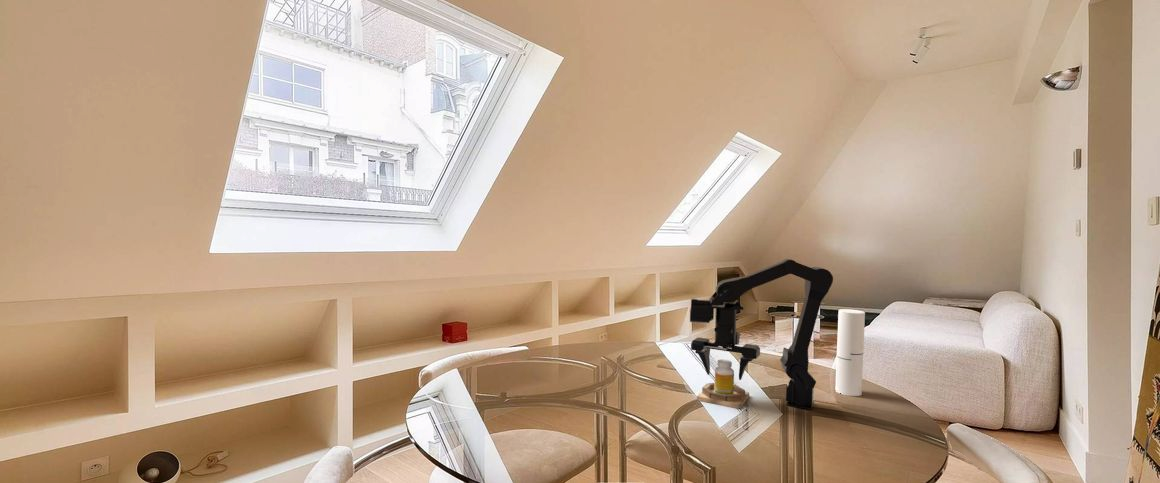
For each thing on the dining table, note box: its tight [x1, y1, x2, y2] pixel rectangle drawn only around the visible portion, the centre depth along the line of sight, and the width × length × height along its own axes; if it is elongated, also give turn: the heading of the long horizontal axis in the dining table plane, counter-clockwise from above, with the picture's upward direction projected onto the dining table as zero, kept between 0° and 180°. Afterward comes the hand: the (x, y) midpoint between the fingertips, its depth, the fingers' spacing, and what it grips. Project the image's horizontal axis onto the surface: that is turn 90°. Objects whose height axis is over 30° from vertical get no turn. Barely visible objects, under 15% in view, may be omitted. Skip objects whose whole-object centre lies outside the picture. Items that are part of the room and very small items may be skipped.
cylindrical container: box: [834, 308, 866, 397], centre depth 157 cm, size 7×7×25 cm
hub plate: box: [696, 382, 750, 410], centre depth 150 cm, size 12×12×3 cm
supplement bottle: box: [714, 359, 735, 395], centre depth 150 cm, size 5×5×10 cm
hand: (724, 377), depth 150 cm, fingers open, 9 cm apart
